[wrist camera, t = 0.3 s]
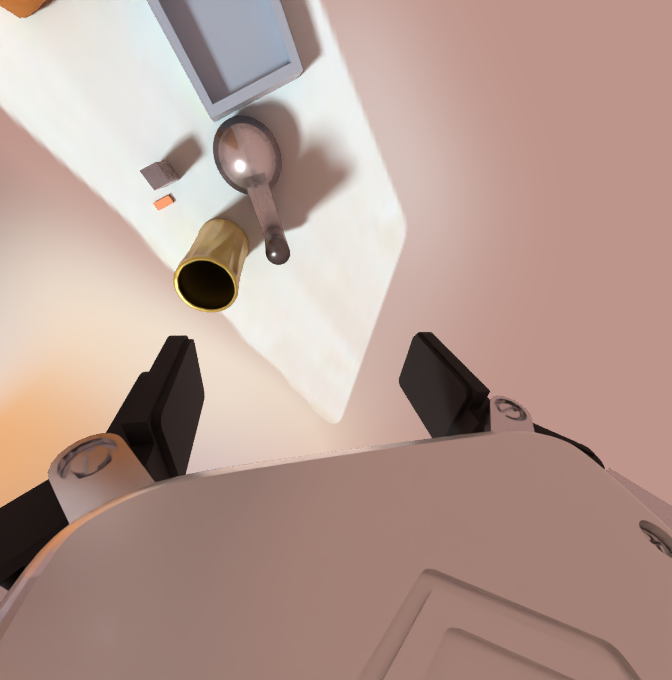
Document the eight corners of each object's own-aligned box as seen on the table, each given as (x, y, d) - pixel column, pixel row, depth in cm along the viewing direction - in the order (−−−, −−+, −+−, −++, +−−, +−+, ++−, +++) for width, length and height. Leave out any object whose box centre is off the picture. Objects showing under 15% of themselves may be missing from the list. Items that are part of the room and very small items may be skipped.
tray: (135, -27, 21) (120, -48, 19) (243, -88, 21) (241, -117, 19) (214, 121, 27) (210, 118, 25) (299, 76, 27) (303, 69, 25)
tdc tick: (153, 203, 30) (153, 203, 30) (168, 195, 30) (168, 195, 30) (159, 210, 30) (158, 210, 30) (174, 202, 30) (173, 202, 30)
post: (153, 169, 28) (139, 170, 25) (167, 161, 28) (155, 162, 25) (165, 186, 29) (154, 190, 26) (179, 179, 29) (169, 182, 26)
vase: (232, 210, 32) (217, 239, 21) (257, 255, 36) (256, 301, 25) (187, 230, 32) (149, 269, 21) (217, 273, 36) (197, 327, 25)
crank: (209, 132, 26) (193, 124, 19) (263, 118, 26) (265, 105, 20) (257, 251, 33) (256, 274, 27) (299, 239, 34) (308, 259, 27)
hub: (201, 136, 28) (197, 135, 26) (259, 105, 27) (259, 102, 26) (240, 203, 32) (239, 205, 30) (290, 177, 32) (292, 178, 30)
